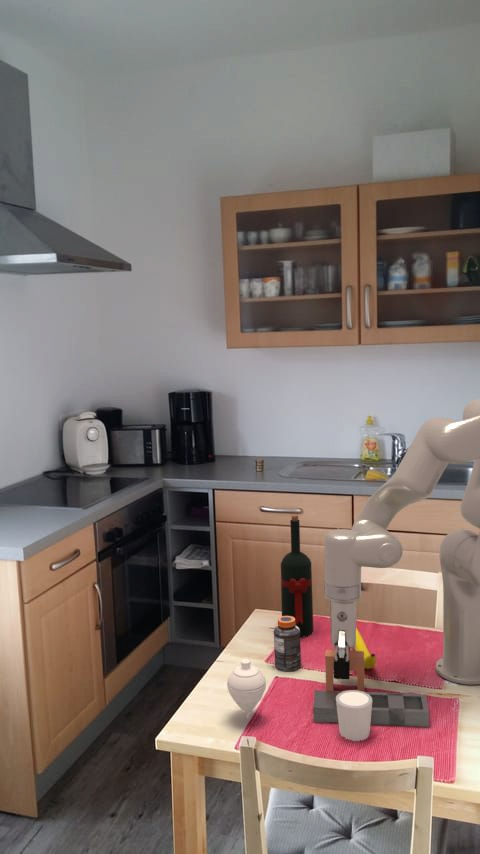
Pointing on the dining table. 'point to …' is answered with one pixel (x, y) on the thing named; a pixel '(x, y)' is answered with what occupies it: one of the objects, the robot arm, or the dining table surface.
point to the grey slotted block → (378, 708)
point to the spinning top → (246, 685)
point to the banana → (360, 646)
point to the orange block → (355, 665)
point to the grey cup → (354, 714)
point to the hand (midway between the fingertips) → (341, 667)
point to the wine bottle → (297, 583)
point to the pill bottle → (287, 644)
